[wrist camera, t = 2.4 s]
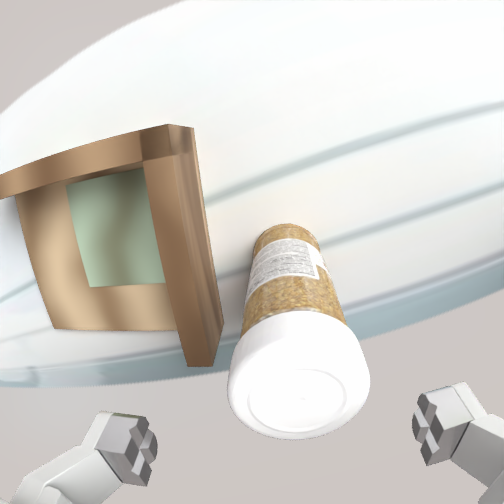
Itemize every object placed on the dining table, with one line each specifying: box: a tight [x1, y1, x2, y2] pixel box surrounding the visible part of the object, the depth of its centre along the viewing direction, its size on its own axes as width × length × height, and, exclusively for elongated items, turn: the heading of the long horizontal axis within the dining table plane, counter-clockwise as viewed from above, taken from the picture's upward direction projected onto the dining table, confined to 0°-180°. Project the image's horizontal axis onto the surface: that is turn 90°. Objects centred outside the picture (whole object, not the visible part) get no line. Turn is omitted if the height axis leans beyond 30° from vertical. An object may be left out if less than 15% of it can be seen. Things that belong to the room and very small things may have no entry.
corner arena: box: [0, 124, 224, 367], centre depth 20 cm, size 16×14×5 cm
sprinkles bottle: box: [227, 224, 370, 440], centre depth 15 cm, size 5×5×14 cm
